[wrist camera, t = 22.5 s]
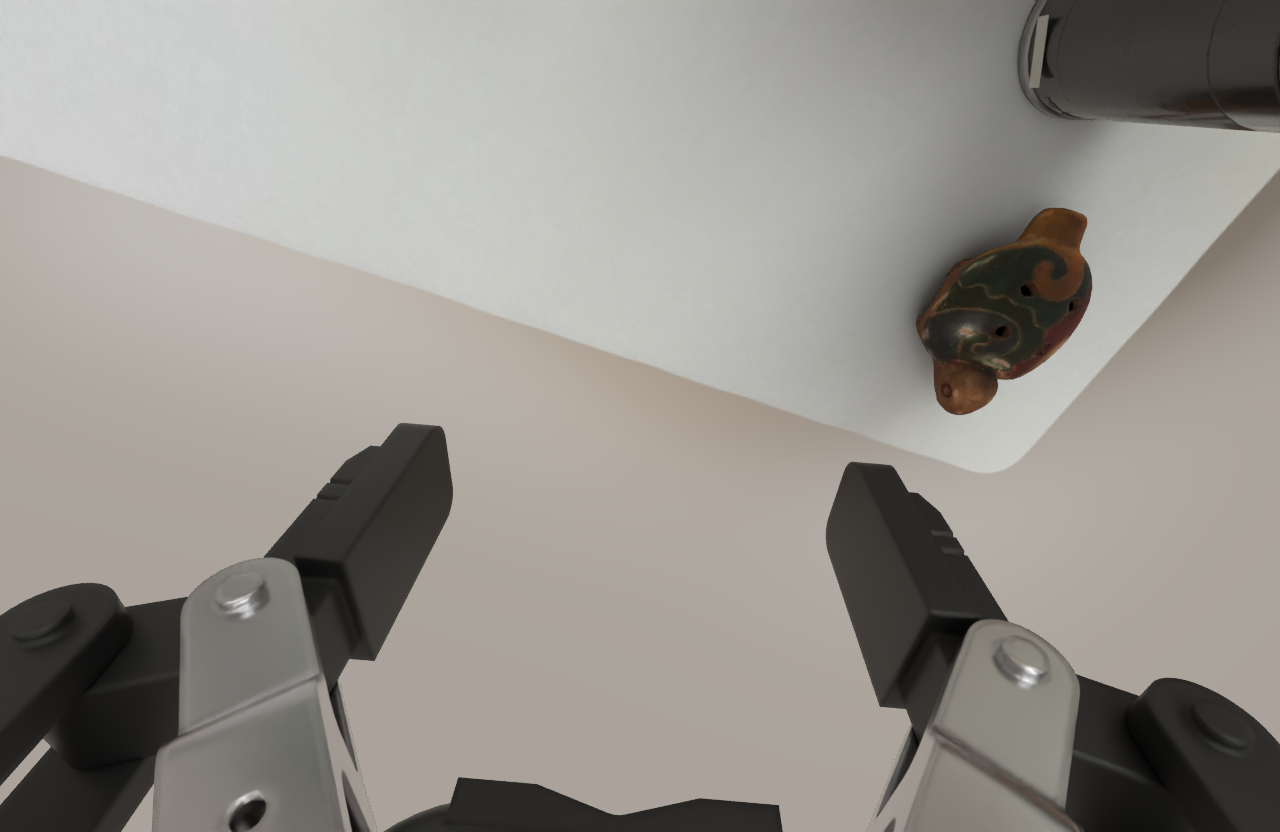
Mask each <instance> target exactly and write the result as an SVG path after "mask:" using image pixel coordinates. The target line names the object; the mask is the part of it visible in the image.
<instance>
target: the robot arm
mask: <svg viewBox="0 0 1280 832" xmlns="http://www.w3.org/2000/svg"><path fill="white" fill-rule="evenodd" d="M1019 75H1020V80H1021V84H1022V87H1023V90H1024V92H1025V94H1026V96H1027V97H1028V99H1029V100H1030V102H1031V103H1032V104H1033V105H1034V106H1035V107H1036V108H1037V109H1039V110H1040V111H1041V112H1043V113H1045V114H1047V115H1049V116H1052V117H1056V118H1060V119H1070V120H1107V121H1120V122H1134V123H1148V124H1162V125H1176V126H1191V127H1205V128H1219V129H1233V130H1247V131H1262V132H1276V133H1280V0H1038V1H1037V3H1036V5H1035V7H1034V9H1033V10H1032V13H1031V15H1030V17H1029V19H1028V22H1027V24H1026V27H1025V30H1024V33H1023V36H1022V40H1021V45H1020V51H1019ZM452 498H453V486H452V480H451V473H450V466H449V459H448V452H447V445H446V438H445V433H444V431H443V429H442V428H441V427H440V426H433V425H432V426H431V425H421V424H409V423H400V424H399V425H398V426H397V427H396V428H395V429H394V430H393V432H392V433H391V434H390V435H389V436H388V438H387V439H386V440H385V442H384V443H383V444H382V445H381V446H369V447H368V448H366V449H365V450H363V451H361V452H360V453H358V454H356V455H355V456H353V457H352V458H350V459H348V460H347V461H346V462H345V463H344V464H343V465H342V466H341V468H340V469H339V470H338V471H337V472H336V473H335V474H334V476H333V477H332V478H331V480H330V483H327V484H326V485H325V486H324V487H323V488H322V490H321V491H320V492H319V493H318V494H317V499H313V500H312V501H311V502H310V504H309V505H308V506H307V507H306V508H305V510H304V511H303V512H302V513H301V514H300V515H299V517H298V518H297V519H296V520H295V521H294V522H293V524H292V525H291V526H290V527H289V528H288V529H287V531H286V532H285V533H284V534H283V535H282V536H281V537H280V539H279V540H278V541H277V542H276V543H275V544H274V546H273V547H272V548H271V549H270V550H269V551H268V553H267V554H266V555H265V556H264V557H263V558H257V559H251V560H247V561H243V562H239V563H237V564H234V565H231V566H229V567H227V568H225V569H223V570H220V571H219V572H217V573H216V574H214V575H212V576H210V577H209V578H208V579H206V580H205V581H203V582H202V583H201V584H200V585H199V586H198V587H197V588H196V589H195V590H194V591H193V592H192V593H191V594H190V595H189V597H184V598H178V599H172V600H166V601H160V602H153V603H147V604H141V605H135V606H129V607H124V605H123V604H122V603H121V601H120V599H119V598H118V596H117V595H116V593H115V592H114V591H113V590H112V589H111V588H110V587H108V586H105V585H102V584H96V583H81V584H74V585H68V586H64V587H60V588H57V589H53V590H50V591H47V592H45V593H42V594H40V595H37V596H35V597H32V598H30V599H28V600H26V601H24V602H22V603H20V604H18V605H17V606H15V607H13V608H11V609H10V610H8V611H7V612H5V613H4V614H2V615H1V616H0V786H1V784H2V783H3V782H4V781H5V780H6V779H7V778H8V777H9V776H10V774H11V773H12V772H13V771H14V770H15V769H16V768H17V767H18V765H19V764H20V763H21V762H22V761H23V760H24V758H26V756H27V755H28V754H29V753H30V752H31V751H32V750H33V749H34V748H35V746H36V745H37V744H38V743H39V742H40V741H41V740H42V739H44V740H45V741H46V742H47V743H48V744H49V745H50V746H51V748H50V749H49V750H48V751H47V752H46V753H45V754H44V756H43V757H42V758H41V759H40V760H39V761H38V763H37V764H36V765H35V766H34V767H33V768H32V769H31V770H30V772H29V773H28V774H27V775H26V776H25V777H24V779H23V780H22V781H21V782H20V783H19V784H18V785H17V787H16V788H15V789H14V790H13V791H12V792H11V794H10V795H9V796H8V797H7V798H6V799H5V800H4V801H3V803H2V804H1V805H0V832H121V831H122V829H123V828H124V826H125V825H126V823H127V822H128V821H129V819H130V817H131V816H132V814H133V813H134V812H135V810H136V809H137V807H138V806H139V804H140V803H141V801H142V800H143V798H144V797H145V795H146V794H147V793H148V791H149V790H150V788H151V787H152V785H153V784H154V797H153V817H152V819H153V820H152V832H378V829H377V825H376V822H375V818H374V815H373V811H372V808H371V805H370V802H369V799H368V796H367V792H366V789H365V785H364V781H363V777H362V773H361V768H360V764H359V760H358V756H357V752H356V747H355V743H354V739H353V734H352V730H351V726H350V722H349V717H348V713H347V709H346V705H345V701H344V696H343V692H342V688H341V684H340V682H339V679H338V678H339V676H340V674H341V673H342V671H343V669H344V667H345V665H346V663H347V662H348V660H349V659H358V660H370V661H375V659H376V657H377V655H378V653H379V651H380V649H381V647H382V645H383V643H384V641H385V639H386V637H387V635H388V633H389V631H390V629H391V628H392V626H393V624H394V622H395V619H396V618H397V616H398V614H399V612H400V610H401V608H402V606H403V604H404V602H405V600H406V598H407V596H408V594H409V592H410V590H411V588H412V586H413V585H414V582H415V581H416V579H417V577H418V575H419V573H420V571H421V569H422V567H423V565H424V563H425V561H426V559H427V557H428V555H429V553H430V551H431V549H432V547H433V545H434V544H435V542H436V540H437V538H438V536H439V534H440V532H441V530H442V528H443V526H444V524H445V522H446V520H447V518H448V516H449V512H450V509H451V504H452ZM826 544H827V550H828V553H829V556H830V559H831V562H832V565H833V568H834V571H835V574H836V577H837V580H838V583H839V586H840V589H841V592H842V595H843V598H844V601H845V604H846V607H847V610H848V612H849V616H850V619H851V622H852V625H853V628H854V631H855V634H856V637H857V640H858V643H859V646H860V649H861V652H862V655H863V658H864V661H865V664H866V666H867V670H868V673H869V676H870V678H871V681H872V685H873V688H874V690H875V693H876V696H877V699H878V702H879V705H880V707H889V708H901V709H906V710H907V713H908V715H909V718H910V721H911V723H912V724H911V726H910V727H909V729H908V731H907V732H906V734H905V737H904V739H903V742H902V744H901V747H900V749H899V751H898V754H897V756H896V759H895V761H894V764H893V766H892V769H891V771H890V773H889V776H888V778H887V781H886V783H885V786H884V788H883V791H882V793H881V796H880V798H879V800H878V803H877V805H876V808H875V810H874V813H873V815H872V818H871V820H870V822H869V825H868V827H867V829H866V832H1280V744H1279V743H1278V742H1277V741H1276V739H1275V738H1274V737H1273V736H1272V735H1271V734H1270V733H1269V732H1268V731H1267V730H1266V729H1265V728H1264V727H1263V726H1262V725H1261V724H1260V723H1259V722H1258V721H1257V720H1256V719H1255V718H1253V717H1252V716H1251V715H1249V714H1248V713H1247V712H1246V711H1244V710H1243V709H1242V708H1240V707H1239V706H1237V705H1236V704H1235V703H1233V702H1232V701H1230V700H1228V699H1227V698H1225V697H1223V696H1222V695H1220V694H1218V693H1216V692H1214V691H1212V690H1210V689H1208V688H1205V687H1203V686H1201V685H1198V684H1196V683H1193V682H1190V681H1186V680H1182V679H1177V678H1162V679H1158V680H1156V681H1154V682H1153V683H1152V684H1151V685H1150V686H1149V687H1148V688H1147V689H1146V690H1145V691H1144V692H1143V693H1142V694H1141V695H1140V696H1137V695H1135V694H1131V693H1129V692H1126V691H1123V690H1120V689H1117V688H1114V687H1111V686H1108V685H1105V684H1102V683H1100V682H1097V681H1094V680H1091V679H1088V678H1085V677H1082V676H1080V675H1077V674H1075V672H1074V670H1073V669H1072V667H1071V665H1070V664H1069V662H1068V661H1067V660H1066V659H1065V658H1064V656H1063V655H1062V654H1061V653H1060V652H1059V651H1058V650H1056V648H1055V647H1053V646H1052V645H1051V644H1050V643H1048V642H1047V641H1046V640H1044V639H1043V638H1042V637H1040V636H1039V635H1037V634H1035V633H1034V632H1032V631H1030V630H1028V629H1026V628H1024V627H1022V626H1020V625H1017V624H1014V623H1011V622H1009V621H1008V620H1007V618H1006V617H1005V615H1004V613H1003V612H1002V610H1001V609H1000V607H999V605H998V604H997V602H996V601H995V599H994V597H993V596H992V594H991V593H990V591H989V590H988V588H987V586H986V585H985V583H984V581H983V580H982V578H981V577H980V575H979V574H978V572H977V570H976V569H975V567H974V566H973V564H972V562H971V561H970V559H969V558H968V556H965V555H964V550H963V548H962V547H961V545H960V543H959V542H958V540H957V538H954V537H953V532H952V531H951V529H950V527H949V526H948V524H947V523H946V521H945V519H944V518H943V516H942V515H941V513H940V512H939V511H938V510H937V509H936V508H935V507H933V506H932V505H931V504H930V503H929V502H928V501H926V500H925V499H924V498H923V497H922V496H921V495H919V494H918V493H911V492H908V491H907V489H906V487H905V485H904V484H903V482H902V480H901V479H900V477H899V475H898V474H897V472H896V470H895V469H894V467H892V466H891V465H883V464H871V463H859V462H850V463H849V464H848V465H847V467H846V468H845V471H844V474H843V476H842V480H841V482H840V485H839V489H838V491H837V494H836V497H835V501H834V503H833V506H832V509H831V512H830V515H829V518H828V522H827V527H826ZM384 832H783V831H782V824H781V818H780V812H779V805H770V804H758V803H747V802H735V801H724V800H712V799H701V798H700V799H695V800H690V801H686V802H681V803H677V804H672V805H668V806H663V807H658V808H654V809H649V810H644V811H640V812H635V813H630V814H626V815H612V814H609V813H606V812H604V811H601V810H599V809H597V808H594V807H592V806H589V805H587V804H584V803H582V802H579V801H577V800H574V799H572V798H570V797H567V796H565V795H562V794H559V793H557V792H555V791H552V790H550V789H547V788H545V787H543V786H540V785H538V784H529V783H517V782H506V781H494V780H483V779H471V778H460V777H459V778H458V780H457V784H456V787H455V790H454V794H453V797H452V800H451V803H449V804H445V805H440V806H437V807H434V808H431V809H429V810H425V811H423V812H420V813H417V814H415V815H413V816H411V817H409V818H407V819H405V820H403V821H401V822H399V823H397V824H395V825H394V826H392V827H390V828H389V829H387V830H386V831H384Z"/></svg>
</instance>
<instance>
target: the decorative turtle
mask: <svg viewBox="0 0 1280 832" xmlns="http://www.w3.org/2000/svg"><path fill="white" fill-rule="evenodd" d="M1086 227H1087V218H1086V217H1085V216H1084V215H1083V214H1080V213H1078V212H1075V211H1072V210H1069V209H1065V208H1048V209H1044V210H1042V211H1041V212H1040V213H1039V214H1037V215H1036V216H1035V217H1034V218H1033V219H1032V220H1031V222H1030V223H1029V225H1028V226H1027V227H1026V229H1025V230H1024V232H1023V233H1022V234H1021V236H1020V237H1019V238H1018V240H1017V241H1016V242H1015V243H1012V244H1008V245H1004V246H1001V247H997V248H994V249H992V250H989V251H987V252H985V253H983V254H981V255H979V256H977V257H975V258H969V259H964V260H963V261H960V262H958V263H956V264H955V265H954V266H953V268H952V269H951V270H950V272H949V273H948V274H947V276H946V278H945V280H944V282H943V284H942V286H941V288H940V290H939V291H938V293H937V295H936V296H935V298H934V299H933V301H932V303H931V304H930V306H929V307H928V308H927V309H926V310H924V311H922V314H920V315H919V316H918V317H917V321H916V327H917V331H918V334H919V337H920V339H921V341H922V343H923V345H924V346H925V348H926V350H927V351H928V352H929V354H930V355H931V356H932V358H933V363H934V387H935V392H936V396H937V401H938V402H939V404H940V405H941V406H942V407H943V408H944V409H945V410H946V411H947V412H949V413H951V414H955V415H964V414H968V413H971V412H973V411H976V410H978V409H980V408H982V407H983V406H985V405H986V404H988V403H989V402H990V401H991V400H992V399H993V397H994V396H995V394H996V392H997V388H998V382H997V379H1003V380H1008V379H1015V378H1018V377H1021V376H1023V375H1025V374H1026V373H1028V372H1030V371H1032V370H1034V369H1035V368H1036V367H1038V366H1039V365H1041V364H1042V363H1043V362H1045V361H1046V360H1047V359H1048V358H1050V357H1051V356H1052V355H1053V354H1054V353H1055V352H1056V351H1057V350H1058V349H1059V348H1060V347H1061V346H1062V345H1063V344H1064V343H1065V342H1066V341H1067V340H1068V338H1069V337H1070V336H1071V334H1072V333H1073V332H1074V330H1075V329H1076V327H1077V326H1078V324H1079V323H1080V321H1081V319H1082V317H1083V315H1084V313H1085V311H1086V309H1087V307H1088V304H1089V302H1090V297H1091V291H1092V277H1091V272H1090V268H1089V265H1088V263H1087V261H1086V260H1085V259H1084V258H1083V256H1082V255H1081V253H1080V251H1079V248H1080V243H1081V240H1082V237H1083V234H1084V232H1085V229H1086Z"/></svg>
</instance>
